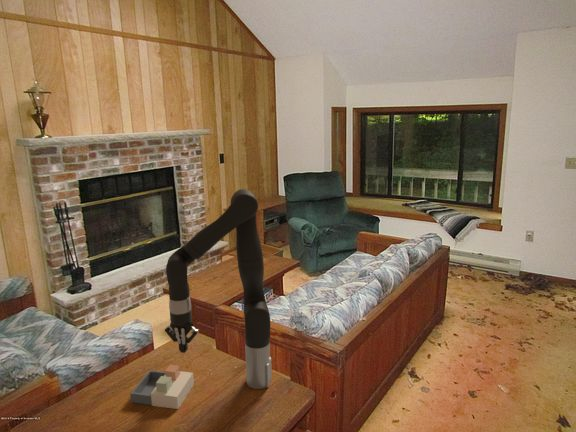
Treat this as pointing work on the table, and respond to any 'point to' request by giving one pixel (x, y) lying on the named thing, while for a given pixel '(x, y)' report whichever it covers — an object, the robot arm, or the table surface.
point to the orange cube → (172, 371)
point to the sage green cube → (164, 384)
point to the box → (146, 388)
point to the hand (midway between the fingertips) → (183, 351)
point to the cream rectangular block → (174, 392)
